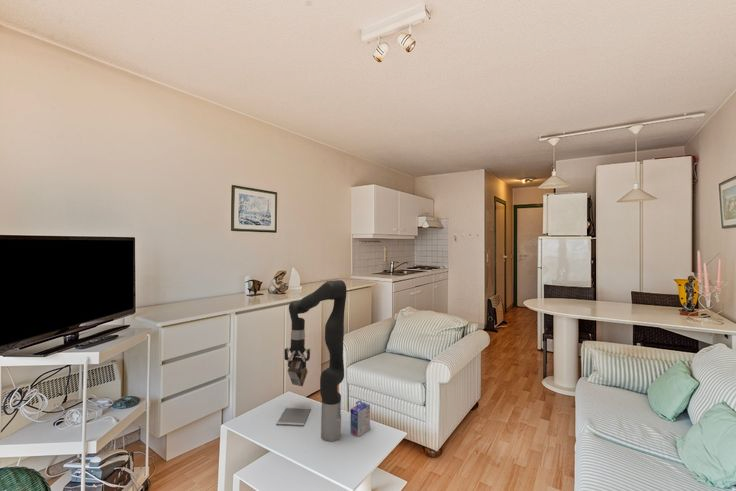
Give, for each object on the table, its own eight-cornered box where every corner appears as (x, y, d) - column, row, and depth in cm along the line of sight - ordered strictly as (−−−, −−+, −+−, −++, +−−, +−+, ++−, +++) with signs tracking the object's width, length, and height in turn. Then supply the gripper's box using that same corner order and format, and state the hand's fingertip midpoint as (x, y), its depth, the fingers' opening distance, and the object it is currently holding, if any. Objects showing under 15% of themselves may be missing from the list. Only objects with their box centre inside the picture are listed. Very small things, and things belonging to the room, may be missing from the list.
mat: (310, 409, 189) (310, 408, 189) (303, 426, 171) (303, 424, 171) (286, 408, 189) (286, 406, 189) (276, 425, 171) (276, 423, 171)
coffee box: (302, 386, 188) (298, 373, 176) (292, 384, 189) (286, 371, 177) (308, 371, 194) (304, 357, 183) (297, 369, 195) (293, 355, 184)
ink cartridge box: (362, 425, 173) (362, 397, 173) (370, 429, 170) (371, 400, 170) (349, 433, 165) (350, 403, 166) (357, 437, 162) (358, 407, 162)
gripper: (282, 338, 179) (281, 369, 179) (309, 339, 179) (308, 370, 179) (286, 335, 187) (285, 365, 187) (312, 336, 186) (311, 366, 186)
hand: (297, 367), depth 183 cm, fingers closed on coffee box, 7 cm apart
